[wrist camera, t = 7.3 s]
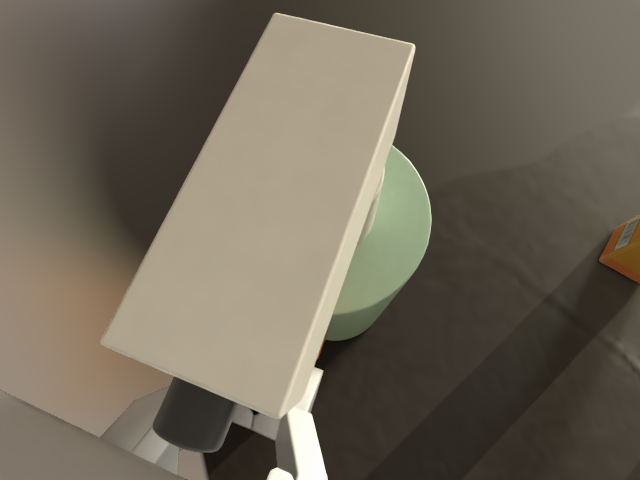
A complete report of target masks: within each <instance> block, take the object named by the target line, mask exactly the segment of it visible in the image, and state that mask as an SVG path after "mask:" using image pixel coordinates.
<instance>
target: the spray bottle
mask: <svg viewBox="0 0 640 480" xmlns="http://www.w3.org/2000/svg"><path fill="white" fill-rule="evenodd" d="M414 53H415V45H414V44H411V43H406V42H402V41H398V40H394V39H389V38H385V37H380V36H376V35H371V34H367V33H363V32H358V31H354V30H350V29H345V28H341V27H336V26H332V25H328V24H323V23H319V22H314V21H310V20H305V19H301V18H297V17H293V16H288V15H284V14H279V13H274V14H273V16H272V18H271V20H270V21H269V23H268V25H267V27H266V29H265V31H264V33H263V35H262V37H261V39H260V40H259V42H258V44H257V46H256V48H255V50H254V52H253V54H252V55H251V57H250V59H249V61H248V63H247V65H246V67H245V69H244V71H243V73H242V74H241V76H240V78H239V80H238V82H237V84H236V86H235V88H234V89H233V92H232V93H231V95H230V97H229V99H228V101H227V103H226V105H225V107H224V108H223V110H222V112H221V114H220V116H219V118H218V120H217V122H216V124H215V125H214V127H213V129H212V131H211V133H210V135H209V137H208V139H207V141H206V143H205V144H204V146H203V148H202V150H201V152H200V154H199V156H198V157H197V159H196V162H195V163H194V165H193V167H192V169H191V171H190V173H189V174H188V176H187V178H186V180H185V182H184V184H183V186H182V188H181V190H180V191H179V194H178V195H177V197H176V199H175V201H174V203H173V205H172V207H171V208H170V210H169V212H168V214H167V216H166V218H165V220H164V222H163V224H162V226H161V227H160V229H159V231H158V233H157V235H156V237H155V239H154V241H153V242H152V244H151V247H150V248H149V250H148V252H147V254H146V256H145V258H144V260H143V261H142V263H141V265H140V267H139V269H138V271H137V273H136V275H135V276H134V278H133V280H132V282H131V284H130V286H129V288H128V290H127V292H126V294H125V296H124V298H123V299H122V301H121V303H120V305H119V307H118V309H117V310H116V312H115V314H114V316H113V318H112V320H111V322H110V324H109V326H108V328H107V329H106V331H105V333H104V335H103V337H102V339H101V342H100V343H101V344H102V345H103V346H104V347H107V348H109V349H111V350H114V351H116V352H118V353H121V354H123V355H126V356H128V357H130V358H132V359H135V360H137V361H140V362H142V363H144V364H147V365H149V366H151V367H154V368H156V369H159V370H161V371H163V372H166V373H168V374H170V375H173V376H174V378H173V380H172V382H171V385H170V387H169V389H168V391H167V393H166V396H165V398H164V400H163V402H162V404H161V407H160V409H159V411H158V413H157V415H156V417H155V420H154V422H153V430H154V432H155V433H156V434H157V435H158V436H159V437H161V438H162V439H163V440H165V441H167V442H168V443H170V444H172V445H175V446H177V447H180V448H183V449H186V450H189V451H194V452H204V453H211V452H216V451H218V450H219V449H220V448H221V446H222V445H223V442H224V440H225V437H226V435H227V432H228V430H229V427H230V425H231V422H232V420H233V417H234V415H235V412H236V410H237V407H238V405H239V404H241V405H244V406H246V407H248V408H251V409H253V410H255V411H258V412H260V413H262V414H265V415H267V416H269V417H272V418H274V419H281V418H282V417H283V416H284V415H285V414H286V413H287V412H288V411H289V410H290V409H292V408H293V407H294V406H295V405H296V404H297V403H298V402H299V401H300V400H301V399H302V398H303V397H304V394H305V391H306V388H307V385H308V382H309V379H310V377H311V374H312V371H313V368H314V365H315V362H316V359H317V357H318V354H319V351H320V348H321V345H322V342H323V339H324V337H325V334H326V331H327V328H328V333H327V336H326V339H325V340H332V341H339V340H346V339H350V338H353V337H355V336H357V335H359V334H361V333H363V332H364V331H365V330H367V329H368V328H369V327H370V326H371V325H372V324H373V323H374V321H375V320H376V319H377V318H378V317H379V315H380V314H381V313H382V312H383V310H384V309H385V308H386V307H387V305H388V304H389V303H390V302H391V300H392V299H393V298H394V297H395V296H396V294H397V293H398V292H399V291H400V289H401V288H402V287H403V286H404V284H405V283H406V282H407V281H408V279H409V278H410V277H411V275H412V274H413V273H414V271H415V270H416V269H417V267H418V265H419V263H420V262H421V260H422V258H423V256H424V253H425V251H426V248H427V245H428V241H429V236H430V232H431V208H430V202H429V198H428V194H427V191H426V188H425V186H424V183H423V181H422V179H421V178H420V176H419V174H418V172H417V171H416V169H415V168H414V167H413V165H412V164H411V162H410V161H409V160H408V159H407V158H406V157H405V156H404V155H403V154H402V153H401V152H400V151H399V150H397V149H396V148H395V147H394V146H392V142H393V140H394V137H395V133H396V129H397V124H398V120H399V116H400V112H401V108H402V103H403V99H404V95H405V91H406V86H407V82H408V78H409V73H410V70H411V65H412V61H413V57H414Z"/></svg>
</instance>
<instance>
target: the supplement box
mask: <svg viewBox="0 0 640 480" xmlns="http://www.w3.org/2000/svg"><path fill="white" fill-rule="evenodd" d="M599 262H601V263H603V264H604V265H606V266H608V267H610V268H612V269H614V270H616V271H618V272H619V273H621V274H623V275H625V276H626V277H628V278H630V279H632V280H634V281H636V282H637V283H639V284H640V215H639V216H637V217H635V218H633V219H632V220H630V221H628V222H626V223H624V224H622V225H620V226H619V227H617V228H615V230H614V231H613V234H612V235H611V237H610V239H609V241H608V243H607V245H606V247H605V249H604V251H603V253H602V254H601V256H600V258H599Z"/></svg>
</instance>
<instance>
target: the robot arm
mask: <svg viewBox="0 0 640 480" xmlns="http://www.w3.org/2000/svg"><path fill="white" fill-rule="evenodd" d="M322 375H323V370H321V369H318V368H315V367H314V368H313V371H312V374H311V377H310V379H309V382H308V385H307V388H306V391H305V394H304V397H303V398H302V399H301V400H300V401H299V402H298V403H297V404H296V405H295V406H294V407H293V408H292V409H290V410H289V411H288V412H287V413H286V414H285V415H284V416H283V417H282V418H281V419H274V418H272V417H269V416H267V415H265V414H262V413H260V412H258V411H255V410H253V409H251V408H248V407H246V406H244V405H241V404H239V405H238V407H237V410H236V412H235V415H234V417H233V420H232V422H233V423H236V424H238V425H241V426H243V427H245V428H248V429H250V430H253V431H255V432H257V433H259V434H261V435H263V436H265V437H267V438H269V439H271V440H274V441H276V442H275V445H276V455H277V465H278V468H275V469H273V470H271V471H270V473H269V476H268V478H267V480H328V479H327V475H326V471H325V467H324V463H323V459H322V454H321V450H320V446H319V442H318V438H317V434H316V430H315V426H314V421H313V417H312V414H310V412H311V409H312V406H313V403H314V400H315V397H316V394H317V391H318V388H319V384H320V381H321V378H322ZM169 387H170V386H168V387H166V388H164V389H161V390H159V391H156V392H154V393H152V394H149V395H147V396H144V397H142V398H140V399H137V400H135V401H133V403H132V404H131V405H130V406H129V407H128V408H127V409H126V410H125V411H124V412H123V413H122V414H121V415H120V417H119V418H118V419H117V420H116V421H115V422H114V423H113V424H112V425H111V426H110V427H109V428H108V429H107V430H106V431H105V433H104V434H103V435H102V436H101V437H100V438H99V437H97V436H95V435H93V434H91V433H89V432H87V431H85V430H83V429H81V428H79V427H77V426H74V425H72V424H70V423H68V422H66V421H64V420H62V419H60V418H58V417H55V416H54V415H51V414H50V413H47V412H45V411H43V410H41V409H39V408H37V407H35V406H33V405H31V404H29V403H26V402H25V401H23V400H21V399H18V398H16V397H14V396H12V395H10V394H8V393H6V392H4V391H2V390H0V480H187V479H184V478H183V477H180V476H178V455H179V453H178V452H179V451H181V450H182V449H183V448H180V447H177V446H175V445H172V444H170V443H168V442H167V441H165V440H163V439H162V438H161V437H159V436H158V435H157V434H156V433H155V432H154V430H153V422H154V420H155V417H156V415H157V413H158V411H159V409H160V407H161V404H162V402H163V400H164V398H165V396H166V393H167V391H168V389H169Z"/></svg>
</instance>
